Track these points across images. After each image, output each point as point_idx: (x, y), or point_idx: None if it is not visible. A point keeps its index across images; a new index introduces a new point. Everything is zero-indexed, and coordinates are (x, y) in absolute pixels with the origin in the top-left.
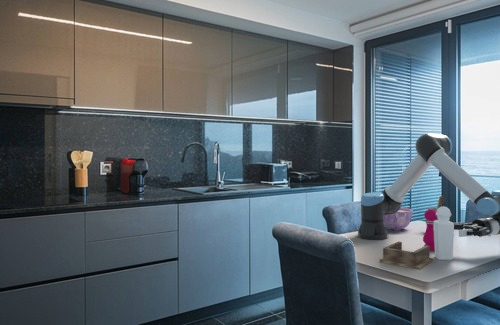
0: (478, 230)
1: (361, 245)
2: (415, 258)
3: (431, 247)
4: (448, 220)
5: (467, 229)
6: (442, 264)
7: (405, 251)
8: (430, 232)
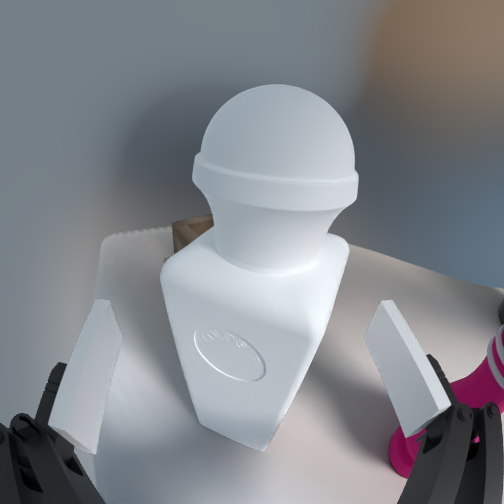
0: (5, 427)
1: (432, 275)
2: (173, 236)
3: (399, 431)
4: (215, 235)
5: (71, 372)
6: (167, 342)
7: (200, 217)
8: (453, 387)
